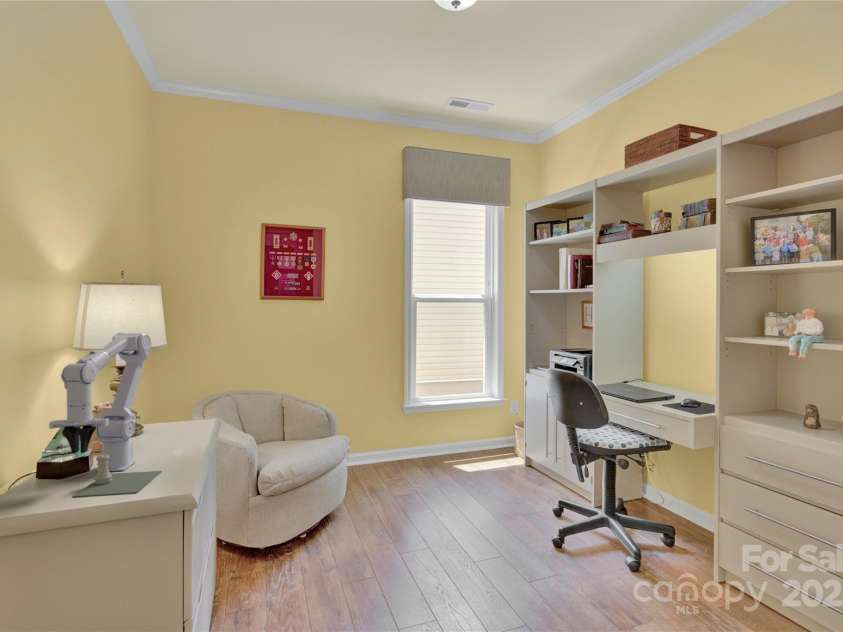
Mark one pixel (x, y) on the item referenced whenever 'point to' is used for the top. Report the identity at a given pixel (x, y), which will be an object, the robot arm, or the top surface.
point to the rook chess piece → (102, 470)
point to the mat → (120, 484)
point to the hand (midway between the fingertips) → (79, 452)
